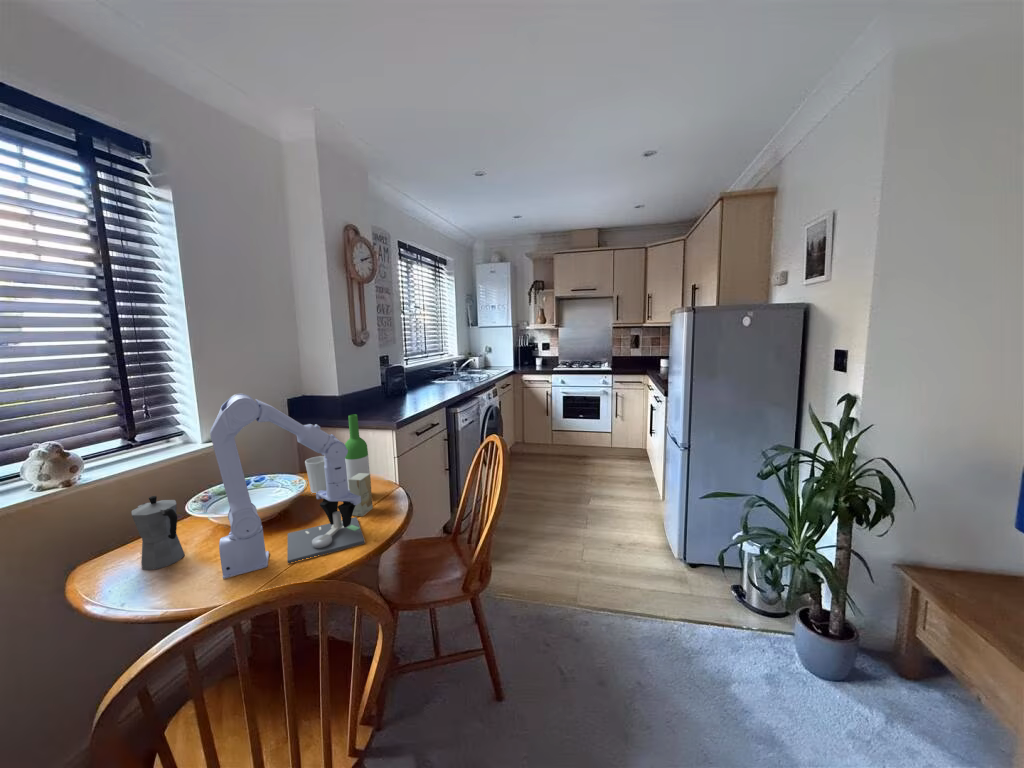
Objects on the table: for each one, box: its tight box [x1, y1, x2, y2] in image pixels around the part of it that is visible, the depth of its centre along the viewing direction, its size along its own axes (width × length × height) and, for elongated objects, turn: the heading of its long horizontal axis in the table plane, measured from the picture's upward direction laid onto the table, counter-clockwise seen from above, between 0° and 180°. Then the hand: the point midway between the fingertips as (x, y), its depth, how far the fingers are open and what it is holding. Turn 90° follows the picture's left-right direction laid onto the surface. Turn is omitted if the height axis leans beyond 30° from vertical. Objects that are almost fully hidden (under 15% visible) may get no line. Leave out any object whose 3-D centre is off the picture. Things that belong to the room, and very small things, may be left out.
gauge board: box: [286, 516, 366, 564], centre depth 115 cm, size 19×16×1 cm
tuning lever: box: [312, 510, 343, 548], centre depth 115 cm, size 14×5×5 cm, turn 171°
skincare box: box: [349, 473, 374, 517], centre depth 132 cm, size 6×4×12 cm
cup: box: [304, 455, 327, 494], centre depth 150 cm, size 8×8×12 cm
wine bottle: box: [344, 413, 371, 489], centre depth 141 cm, size 8×8×30 cm
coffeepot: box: [131, 495, 185, 571], centre depth 106 cm, size 15×9×18 cm, turn 67°
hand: (340, 524), depth 118 cm, fingers open, 4 cm apart
